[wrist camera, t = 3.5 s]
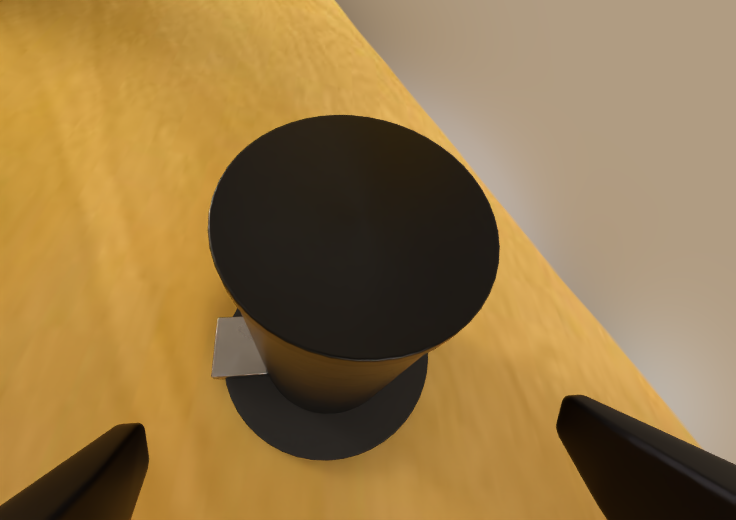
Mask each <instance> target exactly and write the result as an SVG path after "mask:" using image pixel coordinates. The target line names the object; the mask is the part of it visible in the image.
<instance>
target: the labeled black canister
mask: <svg viewBox="0 0 736 520" xmlns="http://www.w3.org/2000/svg"><path fill="white" fill-rule="evenodd" d="M208 238H209V247H210V251H211V255H212V258H213V262H214V265H215V268H216V270H217V272H218V274H219V276H220V278H221V280H222V283H223V285H224V287H225V289H226V291H227V293H228V294H229V296H230V297H231V299H232V300H233V302H234V303H235V305H236V306H237V308H238V309H239V310H240V312H241V314H242V316H243V317H221V318H218V319H217V328H216V337H215V346H214V355H213V364H212V374H211V377H212V378H213V379H228V378H243V377H259V376H268V374H269V376H270V379H271V381H272V382H273V384H274V385H275V387H276V388H277V390H278V391H279V392H280V393H281V394H282V395H283V396H284V397H285V398H286V399H287V400H289V401H290V402H291V403H293V404H295V405H296V406H298V407H300V408H303V409H305V410H308V411H311V412H315V413H322V414H335V413H341V412H345V411H349V410H352V409H354V408H356V407H358V406H360V405H362V404H363V403H365V402H367V401H368V400H369V399H370V398H372V397H373V396H374V395H375V394H377V393H378V392H379V391H380V390H381V389H383V388H384V387H385V386H386V385H388V384H389V383H390V382H391V381H392V380H394V379H395V378H396V377H397V376H398V375H400V374H401V373H402V372H403V371H405V370H406V369H407V368H408V367H409V366H411V365H412V364H413V363H414V362H416V361H417V360H418V359H419V358H420V357H422V356H423V355H424V354H426V353H428V352H430V351H432V350H434V349H436V348H437V347H439V346H440V345H442V344H443V343H445V342H447V341H448V340H450V339H451V338H452V337H453V336H455V335H456V334H457V333H458V332H459V331H460V330H462V329H463V328H464V327H465V326H466V325H467V324H468V323H470V321H471V320H472V319H473V318H474V317H475V315H476V314H477V313H478V312H479V311H480V309H481V308H482V306H483V304H484V303H485V301H486V299H487V298H488V296H489V294H490V292H491V289H492V286H493V284H494V281H495V278H496V274H497V269H498V264H499V249H500V246H499V235H498V229H497V225H496V221H495V217H494V214H493V212H492V209H491V206H490V204H489V202H488V200H487V198H486V196H485V194H484V192H483V190H482V189H481V187H480V186H479V184H478V183H477V182H476V180H475V179H474V177H473V176H472V175H471V174H470V173H469V172H468V170H467V169H466V168H465V167H464V166H463V165H462V164H461V163H460V162H459V161H458V160H457V159H456V158H455V157H454V156H453V155H451V154H450V153H449V152H447V151H446V150H445V149H443V148H442V147H441V146H439V145H438V144H436V143H435V142H433V141H431V140H430V139H428V138H427V137H425V136H423V135H421V134H419V133H417V132H415V131H413V130H410V129H408V128H405V127H403V126H400V125H398V124H394V123H391V122H387V121H384V120H380V119H375V118H370V117H363V116H354V115H329V116H318V117H312V118H306V119H302V120H298V121H295V122H291V123H288V124H286V125H283V126H281V127H278V128H275V129H274V130H272V131H270V132H268V133H266V134H264V135H262V136H261V137H259V138H258V139H256V140H255V141H253V142H252V143H251V144H249V145H248V146H247V147H246V148H245V149H244V150H242V151H241V152H240V153H239V154H238V155H237V156H236V157H235V159H234V160H233V161H232V162H231V163H230V165H229V166H228V167H227V169H226V170H225V172H224V173H223V175H222V177H221V178H220V180H219V182H218V185H217V187H216V189H215V192H214V194H213V197H212V201H211V205H210V210H209V216H208Z"/></svg>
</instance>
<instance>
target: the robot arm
mask: <svg viewBox="0 0 736 520" xmlns="http://www.w3.org/2000/svg"><path fill="white" fill-rule="evenodd" d="M556 429H557V433H558V436H559V438H560V439H561V441H562V443H563V445H564V446H565V448H566V450H567V452H568V454H569V455H570V457H571V459H572V461H573V462H574V464H575V466H576V468H577V470H578V471H579V473H580V475H581V477H582V478H583V480H584V482H585V484H586V486H587V487H588V489H589V491H590V493H591V494H592V496H593V498H594V499H595V501H596V503H597V504H598V506H599V508H600V509H601V511H602V512H603V514H604V515H605V517H606V518H607V520H736V465H735V464H733V463H731V462H728V461H726V460H724V459H722V458H720V457H717V456H715V455H713V454H711V453H709V452H707V451H704V450H702V449H700V448H698V447H696V446H694V445H691V444H689V443H687V442H685V441H683V440H680V439H678V438H676V437H674V436H672V435H670V434H667V433H665V432H663V431H661V430H659V429H656V428H654V427H652V426H650V425H648V424H646V423H643V422H641V421H639V420H637V419H635V418H632V417H630V416H628V415H626V414H624V413H622V412H619V411H617V410H615V409H613V408H611V407H608V406H606V405H604V404H602V403H600V402H598V401H595V400H593V399H591V398H589V397H587V396H584V395H569V396H566V397H565V398H564V399H563V400H562V404H561V408H560V412H559V415H558V419H557V424H556ZM148 464H149V454H148V447H147V441H146V434H145V428H144V426H143V425H142V424H140V423H130V424H119V425H117V426H115V427H113V428H112V429H110V430H109V431H107V432H106V433H105V434H103V435H102V436H100V437H99V438H97V439H96V440H94V441H93V442H92V443H90V444H89V445H87V446H86V447H84V448H83V449H81V450H80V451H79V452H77V453H76V454H74V455H73V456H71V457H70V458H69V459H67V460H66V461H64V462H63V463H61V464H60V465H58V466H57V467H56V468H54V469H53V470H51V471H50V472H48V473H47V474H45V475H44V476H43V477H41V478H40V479H38V480H37V481H35V482H34V483H33V484H31V485H30V486H28V487H27V488H25V489H24V490H22V491H21V492H20V493H18V494H17V495H15V496H14V497H12V498H11V499H9V500H8V501H7V502H5V503H4V504H2V505H1V506H0V520H131V517H132V514H133V511H134V508H135V505H136V502H137V499H138V496H139V493H140V490H141V487H142V484H143V481H144V478H145V475H146V472H147V469H148Z"/></svg>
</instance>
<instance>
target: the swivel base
mask: <svg viewBox="0 0 736 520" xmlns="http://www.w3.org/2000/svg"><path fill="white" fill-rule="evenodd" d="M233 317H243V316H242V314H241V312H240V310H239V309H238V308H237V310H236V312H235V314H234V316H233ZM427 364H428V353H426V354H424V355H423V356H422V357H420V358H419V359H418V360H417V361H416V362H414V363H413V364H412V365H411V366H409V367H408V368H407V369H406V370H405V371H403V372H402V373H401V374H400V375H398V376H397V377H396V378H395V379H394V380H392V381H391V382H390V383H389V384H388V385H386V386H385V387H384V388H383V389H381V390H380V391H379V392H378V393H377V394H375V395H374V396H373V397H372V398H370V399H369V400H368V401H367V402H365V403H363V404H362V405H360V406H358V407H356V408H354V409H352V410H349V411H345V412H341V413H335V414H322V413H315V412H311V411H308V410H305V409H303V408H300V407H298V406H296V405H295V404H293V403H291V402H290V401H289V400H287V399H286V398H285V397H284V396H283V395H282V394H281V393H280V392H279V391H278V390H277V388H276V387H275V385H274V384H273V382H272V381H271V379H270V376H269V374H268V376H259V377H243V378H228V379H226V385H227V388H228V391H229V394H230V397H231V399H232V401H233V403H234V405H235V407H236V409H237V411H238V413H239V414H240V416H241V417H242V419H243V420H244V421H245V423H246V424H247V425H248V426H249V427H250V428H251V429H252V430H253V431H254V432H255V433H256V434H257V435H258V436H259V437H260V438H262V439H263V440H264V441H266V442H267V443H268V444H270V445H271V446H273V447H275V448H277V449H279V450H281V451H282V452H285V453H288V454H291V455H293V456H296V457H301V458H306V459H311V460H336V459H344V458H348V457H352V456H355V455H359V454H361V453H363V452H366V451H368V450H370V449H372V448H374V447H376V446H377V445H379V444H381V443H382V442H384V441H385V440H386V439H388V438H389V437H390V436H391V435H392V434H394V433H395V432H396V431H397V430H398V429H399V428H400V427H401V425H402V424H403V423H404V422H405V421H406V420H407V418H408V417H409V415H410V414H411V412H412V411H413V409H414V407H415V405H416V404H417V402H418V400H419V398H420V395H421V392H422V389H423V386H424V383H425V378H426V374H427Z"/></svg>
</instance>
